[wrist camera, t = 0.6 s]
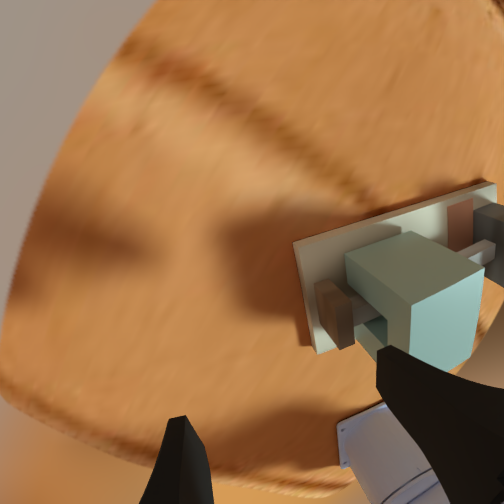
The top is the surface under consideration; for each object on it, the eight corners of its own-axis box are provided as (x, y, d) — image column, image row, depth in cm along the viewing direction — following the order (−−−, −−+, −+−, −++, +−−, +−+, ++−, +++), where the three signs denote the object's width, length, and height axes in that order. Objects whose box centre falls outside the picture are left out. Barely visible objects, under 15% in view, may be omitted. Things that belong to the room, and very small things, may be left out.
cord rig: (485, 266, 24) (531, 293, 19) (312, 346, 22) (348, 403, 17) (487, 181, 21) (543, 197, 16) (292, 242, 19) (337, 285, 14)
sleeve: (411, 308, 21) (470, 356, 15) (352, 334, 21) (404, 396, 15) (410, 230, 19) (484, 267, 13) (343, 253, 18) (411, 305, 12)
